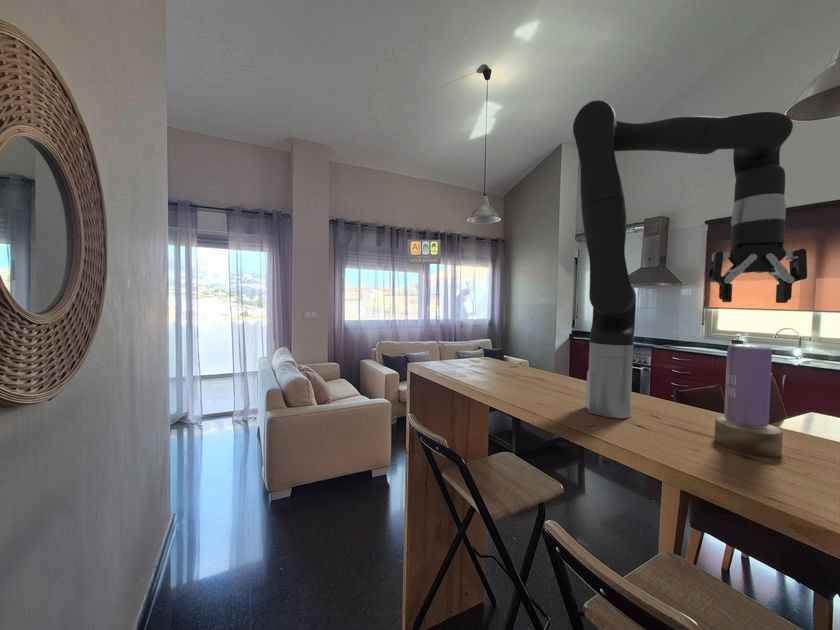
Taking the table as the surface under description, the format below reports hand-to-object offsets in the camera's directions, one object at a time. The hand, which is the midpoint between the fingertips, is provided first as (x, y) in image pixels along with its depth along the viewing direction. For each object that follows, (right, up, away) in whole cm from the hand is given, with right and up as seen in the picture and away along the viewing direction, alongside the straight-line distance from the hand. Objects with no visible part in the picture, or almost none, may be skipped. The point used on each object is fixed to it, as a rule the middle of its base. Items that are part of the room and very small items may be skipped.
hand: (753, 302), depth 66 cm
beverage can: (-6, -24, -4) cm, 24 cm away
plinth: (-5, -28, -4) cm, 28 cm away
